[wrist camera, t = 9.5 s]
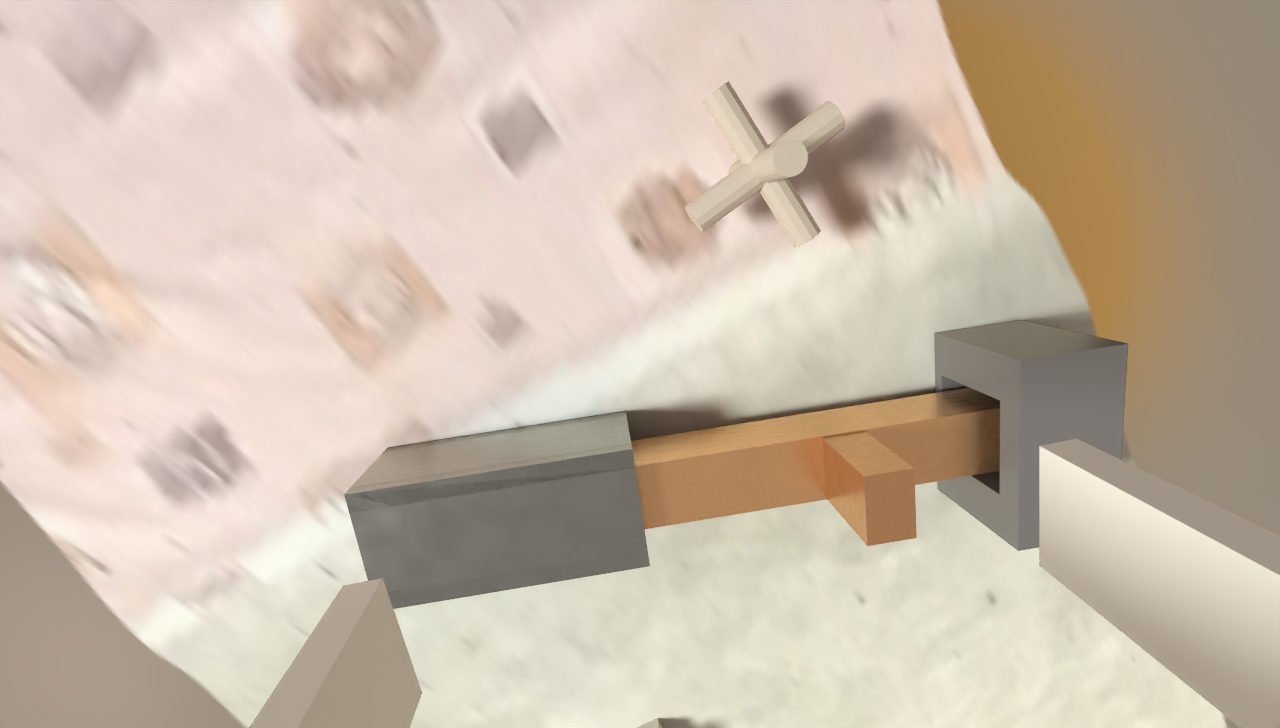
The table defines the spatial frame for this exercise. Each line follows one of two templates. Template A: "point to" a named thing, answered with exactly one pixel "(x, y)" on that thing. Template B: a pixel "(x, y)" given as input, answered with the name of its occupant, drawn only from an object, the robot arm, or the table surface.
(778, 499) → the orange-brown sliding bolt
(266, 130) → the table surface
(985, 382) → the socket block
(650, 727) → the gateway
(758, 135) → the cream cross joint
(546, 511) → the sleeve
